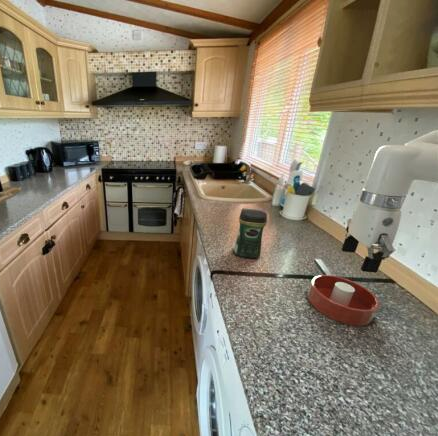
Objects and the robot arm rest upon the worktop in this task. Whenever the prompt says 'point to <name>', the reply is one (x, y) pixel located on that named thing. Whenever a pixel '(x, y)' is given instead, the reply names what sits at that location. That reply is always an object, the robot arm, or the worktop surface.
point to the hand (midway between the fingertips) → (357, 260)
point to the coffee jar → (250, 233)
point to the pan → (352, 315)
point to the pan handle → (322, 267)
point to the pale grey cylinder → (342, 293)
